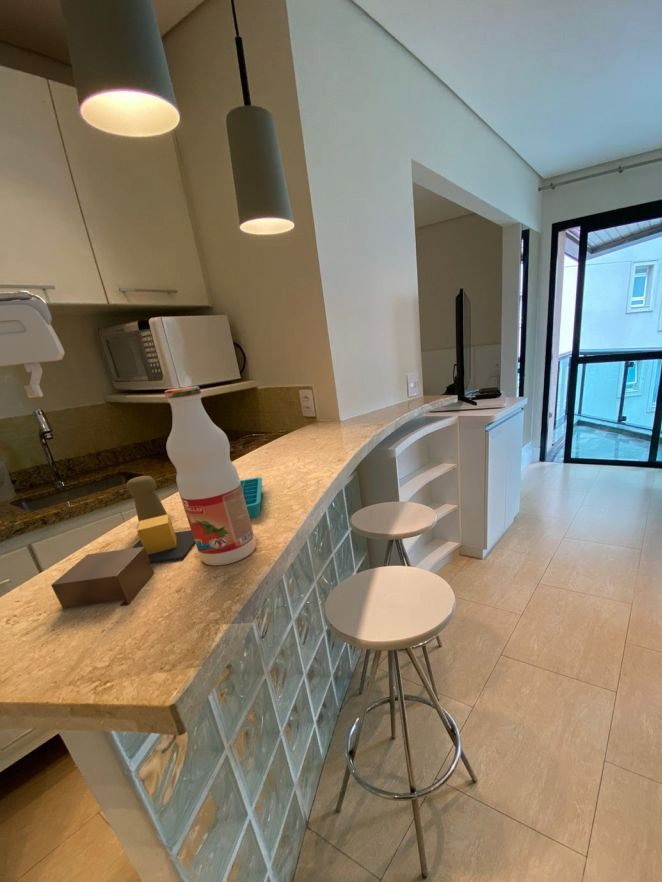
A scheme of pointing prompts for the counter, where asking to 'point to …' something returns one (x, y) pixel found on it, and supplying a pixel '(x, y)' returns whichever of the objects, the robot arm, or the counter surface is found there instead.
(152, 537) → the mustard cube
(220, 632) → the counter surface
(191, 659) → the counter surface
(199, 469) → the fruit juice
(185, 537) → the coaster
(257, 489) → the ice cube tray
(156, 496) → the cork
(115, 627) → the counter surface
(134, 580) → the walnut block
